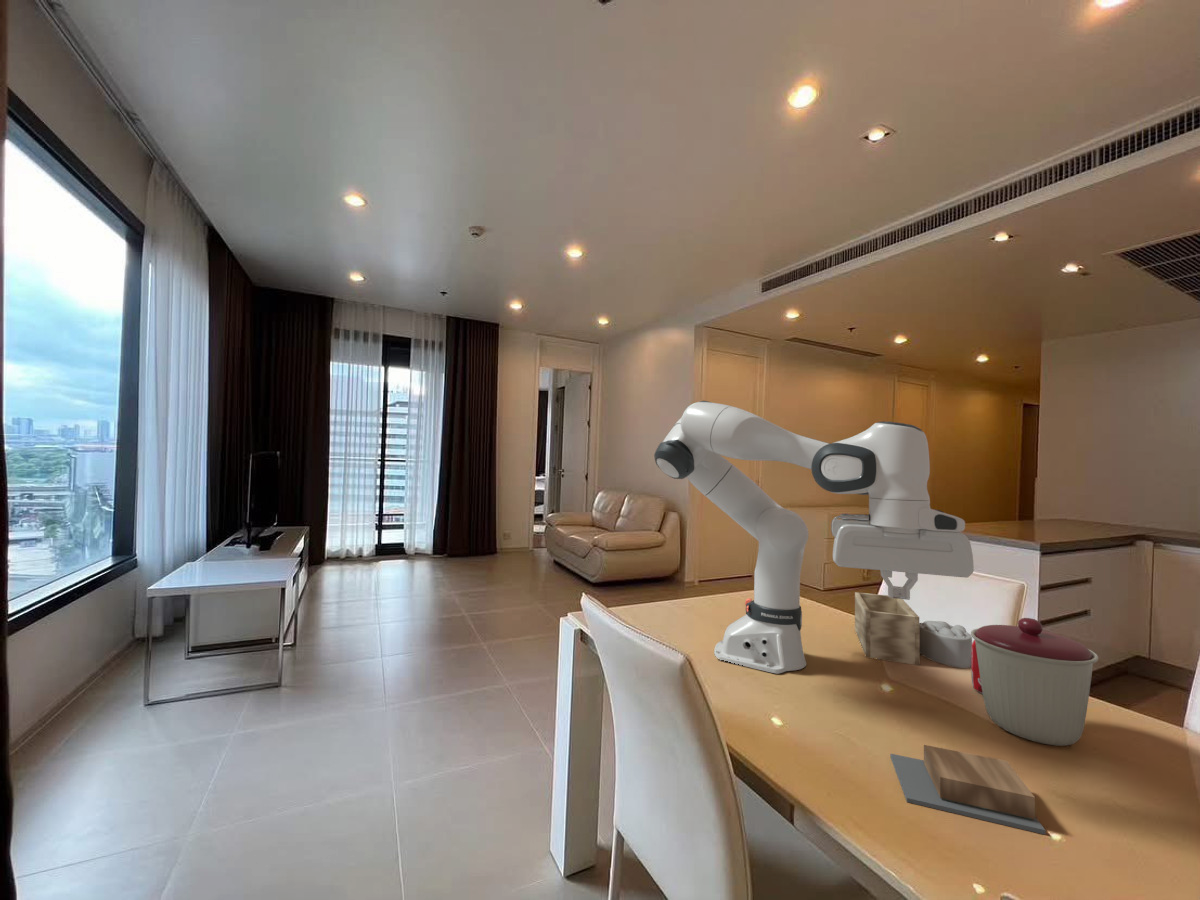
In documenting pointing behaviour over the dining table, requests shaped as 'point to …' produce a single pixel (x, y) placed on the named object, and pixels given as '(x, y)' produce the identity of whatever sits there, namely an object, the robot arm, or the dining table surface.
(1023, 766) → the dining table surface
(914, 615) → the birch crate
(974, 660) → the soda can
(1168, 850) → the dining table surface
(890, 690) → the dining table surface
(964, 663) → the lumpy-topped squat cylinder
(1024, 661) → the canister
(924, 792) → the rubber mat
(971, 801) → the walnut slab
